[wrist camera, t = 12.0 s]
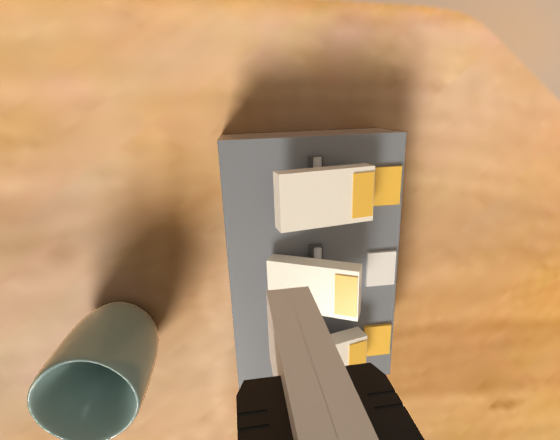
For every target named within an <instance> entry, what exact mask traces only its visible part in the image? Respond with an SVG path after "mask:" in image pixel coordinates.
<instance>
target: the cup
mask: <svg viewBox="0 0 560 440" xmlns="http://www.w3.org/2000/svg"><path fill="white" fill-rule="evenodd" d="M158 342H159V336H158V331H157V327H156V325H155V323H154V321H153V319H152V318H151V317H150V315H149V314H148V313H147V312H146V311H144V310H143V309H142V308H140V307H138V306H136V305H134V304H131V303H128V302H111V303H108V304H105V305H103V306H100V307H99V308H97V309H95V310H93V311H92V312H91V313H89V314H88V315H87V316H85V317H84V318H83V319H82V320H81V321H80V322H79V323H78V324H77V325H76V326H75V327H74V328H73V329H72V330H71V332H70V333H69V334H68V335H67V336H66V337H65V338H64V340H63V341H62V342H61V343H60V345H59V346H58V347H57V348H56V350H55V351H54V352H53V354H52V355H51V356H50V358H49V359H48V360H47V362H46V363H45V364H44V366H43V367H42V368H41V370H40V371H39V373H38V374H37V376H36V377H35V379H34V381H33V383H32V384H31V386H30V389H29V392H28V396H27V405H28V409H29V411H30V414H31V416H32V417H33V419H34V420H35V421H36V422H37V423H38V424H39V425H40V426H41V427H42V428H43V429H44V430H46V431H47V432H48V433H50V434H52V435H54V436H55V437H57V438H59V439H62V440H109V439H111V438H113V437H115V436H117V435H119V434H120V433H121V432H123V431H124V430H125V429H126V428H127V427H128V426H129V425H130V424H131V423H132V422H133V421H134V419H135V418H136V416H137V414H138V413H139V410H140V408H141V405H142V402H143V400H144V397H145V394H146V391H147V388H148V385H149V382H150V379H151V376H152V372H153V369H154V365H155V361H156V357H157V352H158Z"/></svg>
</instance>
